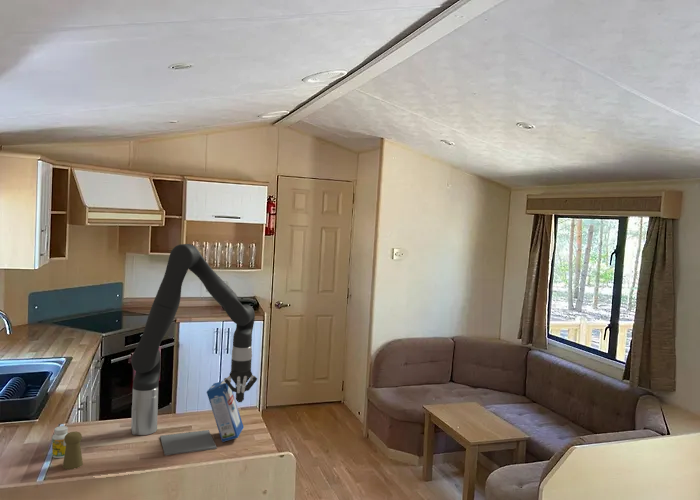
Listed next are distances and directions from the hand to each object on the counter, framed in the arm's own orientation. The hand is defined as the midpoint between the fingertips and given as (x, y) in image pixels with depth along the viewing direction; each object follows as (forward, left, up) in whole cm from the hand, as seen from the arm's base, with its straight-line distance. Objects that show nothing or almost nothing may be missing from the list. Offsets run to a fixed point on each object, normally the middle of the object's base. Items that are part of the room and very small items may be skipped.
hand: (239, 401), depth 212 cm
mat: (-19, 0, -14) cm, 23 cm away
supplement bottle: (-61, +3, -14) cm, 62 cm away
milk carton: (-2, 0, -13) cm, 13 cm away
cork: (-57, -6, -14) cm, 59 cm away
